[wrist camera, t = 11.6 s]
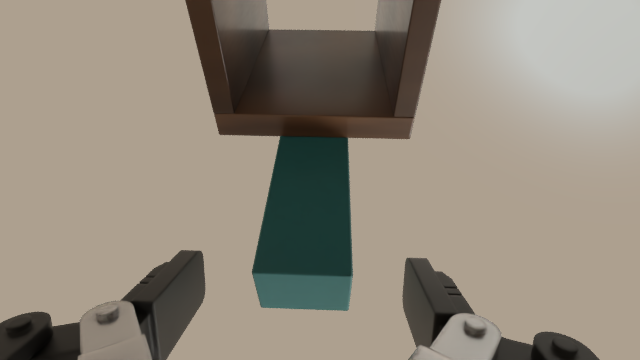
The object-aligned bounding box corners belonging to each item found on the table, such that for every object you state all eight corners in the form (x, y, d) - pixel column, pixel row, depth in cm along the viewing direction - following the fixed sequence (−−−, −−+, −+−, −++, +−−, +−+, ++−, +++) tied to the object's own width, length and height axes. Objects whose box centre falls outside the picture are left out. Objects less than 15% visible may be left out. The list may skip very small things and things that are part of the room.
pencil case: (251, 273, 13) (260, 309, 15) (353, 276, 13) (348, 313, 15) (298, 47, 29) (300, 81, 31) (344, 48, 29) (343, 81, 31)
